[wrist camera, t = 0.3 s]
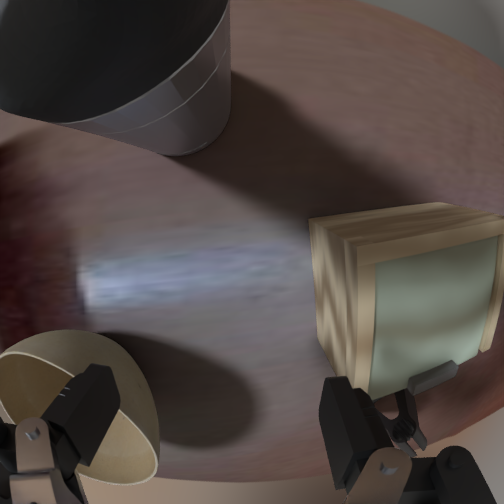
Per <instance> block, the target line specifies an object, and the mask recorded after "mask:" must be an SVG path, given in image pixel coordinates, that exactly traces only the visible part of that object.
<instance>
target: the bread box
mask: <svg viewBox="0 0 504 504" xmlns="http://www.w3.org/2000/svg"><path fill="white" fill-rule="evenodd" d="M308 223H309V232H310V242H311V252H312V263H313V275H314V288H315V302H316V318H317V338H318V340H319V342H320V344H321V346H322V348H323V350H324V352H325V354H326V356H327V358H328V360H329V362H330V364H331V366H332V368H333V370H334V372H335V374H336V376H337V377H338V376H347V377H348V379H349V382H350V384H351V386H352V388H361V389H362V390H364V391H365V392H366V393H367V394H368V395H369V396H370V397H371V399H372V400H374V399H377V398H380V397H383V396H386V395H389V394H392V393H394V392H397V391H400V390H402V389H405V388H407V389H408V390H409V391H410V393H411V394H412V395H413V396H414V395H417V394H419V393H421V392H424V391H426V390H428V389H430V388H432V387H435V386H437V385H439V384H441V383H443V382H445V381H447V380H449V379H451V378H453V377H455V376H456V374H457V370H458V367H459V366H458V365H459V364H461V363H463V362H465V361H467V360H469V359H470V358H472V357H474V356H476V355H477V353H478V349H479V350H480V351H482V352H484V351H486V350H488V349H490V346H491V343H492V339H493V336H494V332H495V328H496V324H497V320H498V316H499V312H500V307H501V302H502V297H503V292H504V216H502V215H498V214H494V213H489V212H485V211H481V210H476V209H472V208H467V207H462V206H457V205H452V204H447V203H442V202H434V203H425V204H416V205H408V206H400V207H392V208H384V209H376V210H368V211H360V212H353V213H345V214H338V215H331V216H324V217H317V218H310V219H308Z"/></svg>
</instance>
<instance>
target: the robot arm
mask: <svg viewBox="0 0 504 504" xmlns="http://www.w3.org/2000/svg"><path fill="white" fill-rule="evenodd" d="M0 109H2V110H4V111H6V112H8V113H12V114H15V115H18V116H22V117H27V118H31V119H36V120H40V121H45V122H48V123H52V124H57V125H61V126H65V127H69V128H73V129H77V130H81V131H85V132H89V133H92V134H96V135H100V136H103V137H107V138H110V139H114V140H117V141H121V142H124V143H127V144H131V145H134V146H137V147H140V148H144V149H147V150H150V151H153V152H156V153H158V154H162V155H168V156H183V155H189V154H192V153H195V152H198V151H200V150H202V149H204V148H205V147H207V146H208V145H210V144H211V143H212V142H213V141H215V140H216V139H217V137H218V136H219V135H220V134H221V133H222V131H223V129H224V128H225V126H226V124H227V122H228V119H229V115H230V110H231V57H230V0H0ZM120 402H121V399H120V394H119V391H118V388H117V385H116V381H115V378H114V375H113V372H112V369H111V367H109V366H106V365H100V364H95V363H91V364H90V365H89V366H88V367H87V369H86V370H85V371H84V372H83V373H79V374H78V375H76V376H75V377H73V378H71V379H70V380H69V382H68V383H67V384H66V385H65V387H64V389H62V390H61V392H60V393H59V395H57V397H56V398H55V399H54V400H53V402H52V403H51V404H50V405H49V407H48V408H47V409H46V411H45V412H44V413H43V414H42V416H41V417H40V418H36V417H30V418H27V419H24V420H23V421H21V422H20V423H19V424H18V425H15V424H8V423H4V422H3V420H2V419H1V417H0V504H88V501H87V498H86V495H85V493H84V489H83V487H82V484H81V480H80V477H79V474H78V471H77V469H76V467H77V465H78V463H79V464H82V465H85V466H87V467H89V466H90V464H91V462H92V460H93V458H94V456H95V454H96V452H97V451H98V449H99V447H100V445H101V443H102V441H103V439H104V437H105V435H106V433H107V431H108V429H109V427H110V425H111V423H112V422H113V420H114V418H115V416H116V414H117V412H118V410H119V408H120ZM319 422H320V426H321V430H322V434H323V438H324V442H325V446H326V451H327V455H328V459H329V463H330V467H331V472H332V476H333V480H334V485H335V489H336V490H338V489H343V488H346V492H347V497H346V499H345V500H344V502H343V503H342V504H497V503H496V501H495V499H494V497H493V495H492V493H491V491H490V489H489V487H488V485H487V483H486V481H485V479H484V477H483V475H482V473H481V471H480V469H479V467H478V465H477V464H476V462H475V460H474V458H473V456H472V455H471V453H470V452H469V451H468V450H466V449H465V448H463V447H460V446H449V447H446V448H444V449H443V450H442V451H441V452H440V453H439V454H438V456H437V457H427V458H412V457H410V456H409V455H408V454H407V453H406V452H404V451H403V450H401V449H398V448H395V447H394V445H393V443H392V441H391V439H390V437H389V435H388V433H387V431H386V428H385V426H384V424H383V422H382V420H381V418H380V416H378V412H377V410H376V408H375V405H374V403H373V401H372V399H371V397H370V396H369V395H368V394H367V393H366V392H365V391H364V390H362V389H361V388H352V386H351V384H350V382H349V379H348V377H347V376H338V377H327V378H325V381H324V386H323V391H322V396H321V401H320V405H319Z"/></svg>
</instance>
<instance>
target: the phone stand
mask: <svg viewBox="0 0 504 504" xmlns="http://www.w3.org/2000/svg"><path fill="white" fill-rule="evenodd" d="M394 393H395V397H396V400H397V404H398V408H399V415H398V417H397V418H395V419H393V420H390V419H388V418H387V417H385V416H384V415H383V414H382V413H381V412H379V411H378V410H377V409H376V410H377V412H378V416H380V418H381V420H382V422H383V424H384V426H385V428H386V431H387V433H388V435H389V436H390V437H391V439H392V440H393V441H394V442H395V443H396V444H397V446H398V447H399V448H400V449H401V450H403V451H404V452H406V453H407V454H408V455H409V456H410V457H415V456H417V454H416V452H415V451H414V450H413V449H412V448H411V447H410V445H409V444H408V443H407V441H409V440H410V437H411V438H413V439H414V440H415V442H416V443H417V444H418V445H419V447H420V448H421V449H422V450H423V451H424V450H425V448H426V446H427V439H426V438H425V436H424V434H423V433H422V431H421V430H420V428H419V422H418V416H417V410H416V404H415V399H414V396H413V395H412V394H411V393H410V391H409V390H408V389H407V388H405V389H402V390H400V391H397V392H394ZM380 398H382V397H380ZM380 398H377V399H374V400H372V401H373V403H375V402H376V401H378V400H379V399H380Z"/></svg>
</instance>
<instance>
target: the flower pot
mask: <svg viewBox="0 0 504 504" xmlns="http://www.w3.org/2000/svg"><path fill="white" fill-rule="evenodd" d="M91 363H95V364H100V365H106V366H109V367H111V369H112V372H113V375H114V378H115V381H116V385H117V388H118V391H119V394H120V399H121V402H120V408H119V410H118V412H117V414H116V416H115V418H114V420H113V422H112V423H111V425H110V427H109V429H108V431H107V433H106V435H105V437H104V439H103V441H102V443H101V445H100V447H99V449H98V451H97V452H96V454H95V456H94V458H93V460H92V462H91V464H90V466H89V467H87V466H85V465H82V464H79V463H78V465H77V467H76V469H77V471H78V474H80V475H82V476H85V477H87V478H90V479H93V480H96V481H100V482H104V483H109V484H115V485H135V484H140V483H143V482H146V481H148V480H149V479H151V478H152V477H153V476H154V475H155V474H156V472H157V469H158V464H159V454H160V435H159V422H158V416H157V411H156V407H155V403H154V399H153V396H152V393H151V390H150V388H149V385H148V383H147V381H146V379H145V377H144V375H143V373H142V371H141V370H140V368H139V367H138V365H137V364H136V362H135V361H134V359H133V358H132V357H131V356H130V354H129V353H128V352H127V351H126V350H125V349H124V348H123V347H121V346H120V345H119V344H118V343H116V342H115V341H113V340H111V339H109V338H107V337H105V336H102V335H99V334H96V333H92V332H87V331H81V330H57V331H50V332H45V333H41V334H38V335H35V336H32V337H29V338H27V339H25V340H23V341H20V342H19V343H17V344H15V345H13V346H12V347H10V348H8V349H7V350H6V351H4V352H3V353H2V354H1V355H0V403H1V404H2V406H3V408H4V410H5V412H6V413H7V415H8V416H9V418H10V419H11V421H12V422H13V423H14V424H15V425H18V424H19V423H20V422H21V421H23V420H24V419H27V418H30V417H36V418H40V417H41V416H42V414H43V413H44V412H45V411H46V409H47V408H48V407H49V405H50V404H51V403H52V402H53V400H54V399H55V398H56V397H57V395H59V393H60V392H61V390H62V389H64V387H65V385H66V384H67V383H68V382H69V380H70V379H71V378H73V377H75V376H76V375H78V374H79V373H83V372H84V371H85V370H86V369H87V367H88V366H89V365H90V364H91Z"/></svg>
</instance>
